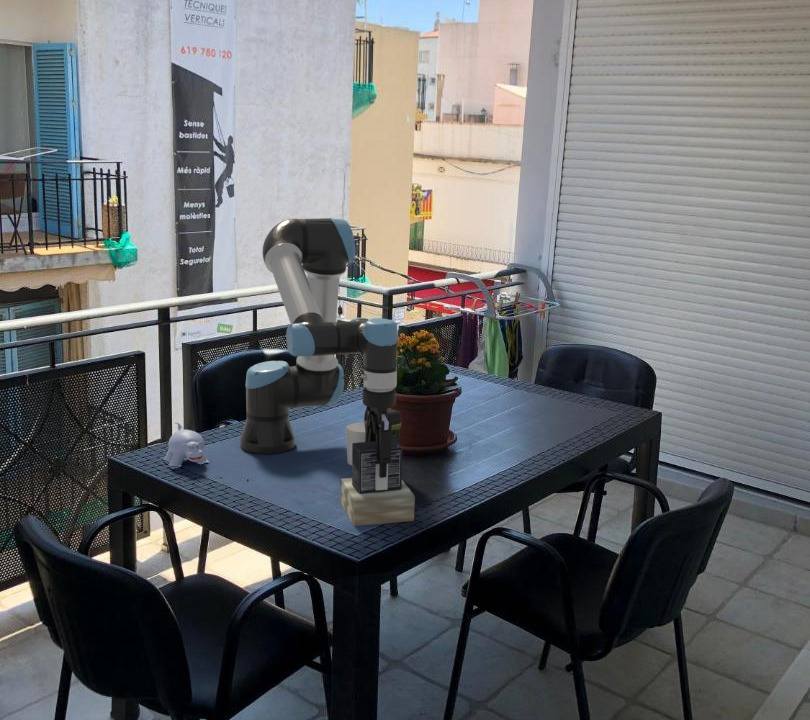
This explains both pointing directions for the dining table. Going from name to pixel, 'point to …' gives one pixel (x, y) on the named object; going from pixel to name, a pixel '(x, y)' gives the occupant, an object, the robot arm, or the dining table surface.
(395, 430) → the coffee jar
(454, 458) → the dining table surface
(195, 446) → the hippopotamus toy
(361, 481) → the small box
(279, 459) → the dining table surface
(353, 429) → the white cup
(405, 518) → the plinth
